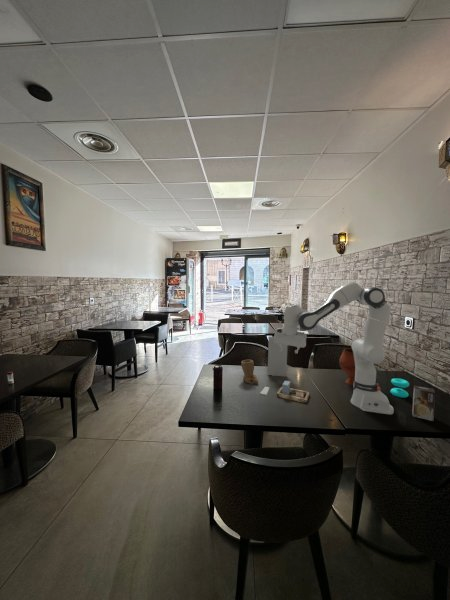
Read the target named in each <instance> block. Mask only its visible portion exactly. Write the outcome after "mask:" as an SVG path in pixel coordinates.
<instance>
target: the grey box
mask: <svg viewBox="0 0 450 600" xmlns="http://www.w3.org/2000/svg"><path fill="white" fill-rule="evenodd" d="M273 340H274V336H268V345H267V346H268V349H267V350H268V351H267V370H266V371H267V372H266V374H267V376H269V375H272V376H271V377H287V369H288V368H287V365H288V364H287V363H288V361H287V360H288V345H284V344H282V345H281V346H282V348H283V351H280V347H279V344H278V343H274V341H273Z"/></svg>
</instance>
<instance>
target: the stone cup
mask: <svg viewBox="0 0 450 600" xmlns="http://www.w3.org/2000/svg"><path fill="white" fill-rule="evenodd" d="M241 369H242V372H243V380H244V382H245V383H247V384H254V385H255V384H257V383H259V380H258V377H257V376H256V374H254V371H255V363H254V360H252V359H244V360H242V361H241Z"/></svg>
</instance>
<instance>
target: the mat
mask: <svg viewBox="0 0 450 600" xmlns="http://www.w3.org/2000/svg"><path fill="white" fill-rule="evenodd" d="M269 390H270V386H264V388H263V389H262V390H261V391H260V392H259V395H263V396H267V394H268V392H269Z"/></svg>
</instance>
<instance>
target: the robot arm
mask: <svg viewBox="0 0 450 600" xmlns="http://www.w3.org/2000/svg"><path fill="white" fill-rule="evenodd" d="M327 296H328V297H327V300H326V302H325V303H324V304H322V305H321V306H319V307H318V308H317V309H315V310H314V311H311V312H310V311H307V310H305V309H302V308H301V307H300V306H298V305H296V304H295V305H294V304H292V305H288V306H286V307H285V309H284V312H283V326H281V327H278V328H276V329H275V333H274V334H273V335H274V336H273V337H274V340H273V341H274V343H278V344H279V347H280V351H283V348H282V346H281V345H282V344H284V345H287V346H290V347H291V346H292V347H296V348H297V349H295V350H294V354H298V352H299V350H300V348H303V349H304V348H305V347H306V346H307V338H308V337H307V336H308V334H307V333H306V332H304V331H305V330H306V331H311V330H313V329H315V328H316V326H317V325H318V323H319V322H320V321H322V320H323V319H324V318H326V317H328V316H329V315H330V314H332V313H334V312H335V311H338V310H340V309H341V308H344V307H346V306H347V305H349V304H351V303H352V302H354V301H357V302H358V303H359V304H360V305H365V306H368V314H367V317H366V320H365V323H364V325H363V328H362V329H363V330H362V331H363V336H364V337H363V338H358V339H357V338H356V339H355V340H353V341H352V343H351V347H350V348H352V350H353V353H354V360H355V379H354V385H352V386H353V387H352V388H353V392H352V396H351V399H350V403H351V405H353V406H355V407H357V408H358V409H360V410H362V411H364V412H369V413H376V414H383V415H384V414H385V415H390V416H391V415H393V414H394V413H395V412H394V411H395V410H394V407H393V406H392V405H391V404H390V401H389V399H388V396H387V395H386V394H384V393H383V392H382V391H381V387H380V385H379V383H377V382H376V379H377V369H376V367H375V364H381V363H383V361H384V360H385V358H386V353H385V350H384V337H385V333H386V330H387V327H388V324H389V321H390V317H391V310H392V309H391V306H390V305H389V303H387V301H386V294H385V292H384V291H383V290H382V289H381V288H379V287H376V286H367V287H361V286H360V285H359V284H358V283H357V282H354V281H353V282H352V281H351V282H348V283H346V284H344V285H341V286H339V287H338V288H336V289H335V290H333V291H332V292H331V293H330V294H329V295H327ZM298 326H299V327H300V328H301V329H302V330H304V331H303V332H302V331H298V329H299V328H298Z"/></svg>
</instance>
